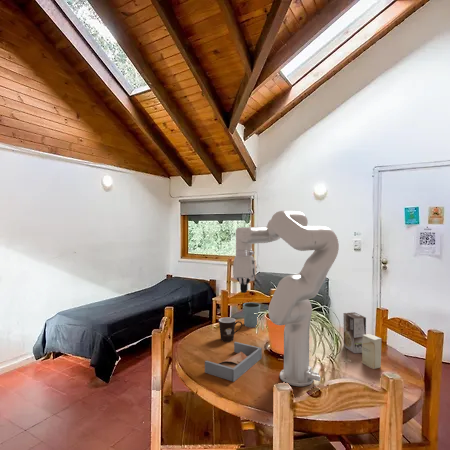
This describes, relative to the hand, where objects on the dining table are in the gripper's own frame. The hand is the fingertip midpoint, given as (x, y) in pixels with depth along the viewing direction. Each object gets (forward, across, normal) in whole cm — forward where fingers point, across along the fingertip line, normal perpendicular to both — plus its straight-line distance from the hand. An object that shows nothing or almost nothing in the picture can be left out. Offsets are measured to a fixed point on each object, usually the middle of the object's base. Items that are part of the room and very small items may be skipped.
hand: (244, 292), depth 146 cm
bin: (+27, -4, +16) cm, 32 cm away
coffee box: (+27, -45, -27) cm, 59 cm away
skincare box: (+27, -53, -13) cm, 61 cm away
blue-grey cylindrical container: (+27, +12, -33) cm, 44 cm away
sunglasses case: (+28, -5, +18) cm, 33 cm away
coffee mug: (+27, +12, -7) cm, 30 cm away
